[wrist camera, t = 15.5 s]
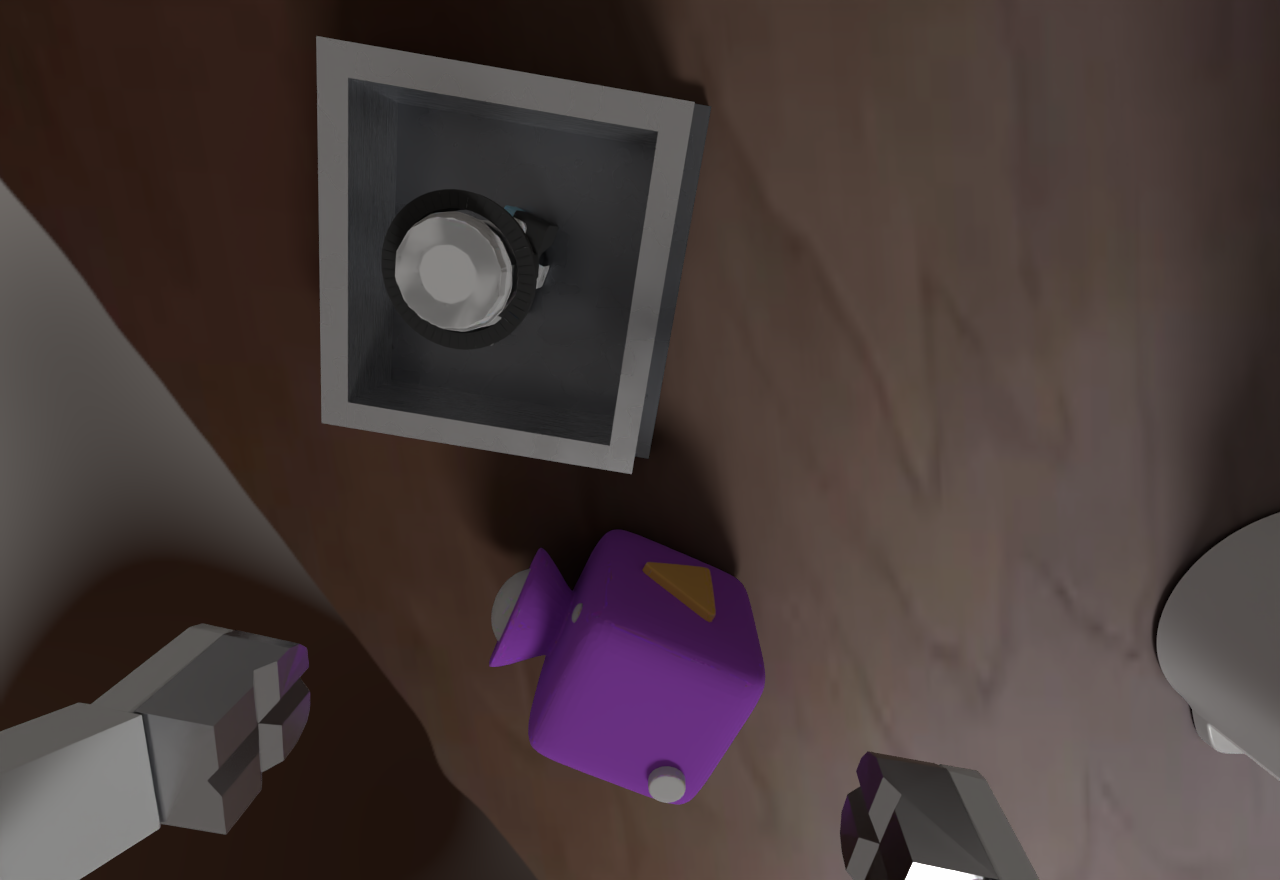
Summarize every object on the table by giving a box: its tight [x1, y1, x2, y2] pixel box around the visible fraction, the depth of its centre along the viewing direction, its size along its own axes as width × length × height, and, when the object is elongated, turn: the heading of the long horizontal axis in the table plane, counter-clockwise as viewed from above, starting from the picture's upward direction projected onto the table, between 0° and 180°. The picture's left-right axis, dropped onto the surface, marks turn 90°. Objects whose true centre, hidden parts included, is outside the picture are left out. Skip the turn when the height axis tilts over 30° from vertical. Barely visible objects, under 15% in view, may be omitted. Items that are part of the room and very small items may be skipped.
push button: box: [381, 189, 558, 350], centre depth 25 cm, size 7×5×10 cm
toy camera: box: [489, 530, 765, 804], centre depth 32 cm, size 11×14×10 cm
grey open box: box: [316, 36, 711, 474], centre depth 28 cm, size 16×17×6 cm
